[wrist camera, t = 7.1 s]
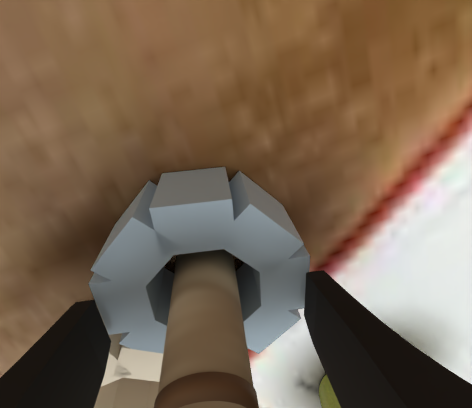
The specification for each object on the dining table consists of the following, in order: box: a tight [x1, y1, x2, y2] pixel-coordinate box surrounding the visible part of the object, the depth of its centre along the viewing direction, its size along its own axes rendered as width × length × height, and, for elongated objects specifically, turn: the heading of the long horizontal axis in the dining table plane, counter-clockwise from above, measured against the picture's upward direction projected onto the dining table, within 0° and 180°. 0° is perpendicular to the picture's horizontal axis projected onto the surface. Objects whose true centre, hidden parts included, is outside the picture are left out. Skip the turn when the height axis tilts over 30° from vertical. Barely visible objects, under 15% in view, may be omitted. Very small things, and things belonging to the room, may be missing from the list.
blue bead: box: [89, 167, 310, 354], centre depth 12 cm, size 8×8×3 cm
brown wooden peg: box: [154, 249, 259, 408], centre depth 9 cm, size 2×2×8 cm
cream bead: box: [94, 309, 163, 408], centre depth 14 cm, size 8×8×3 cm
